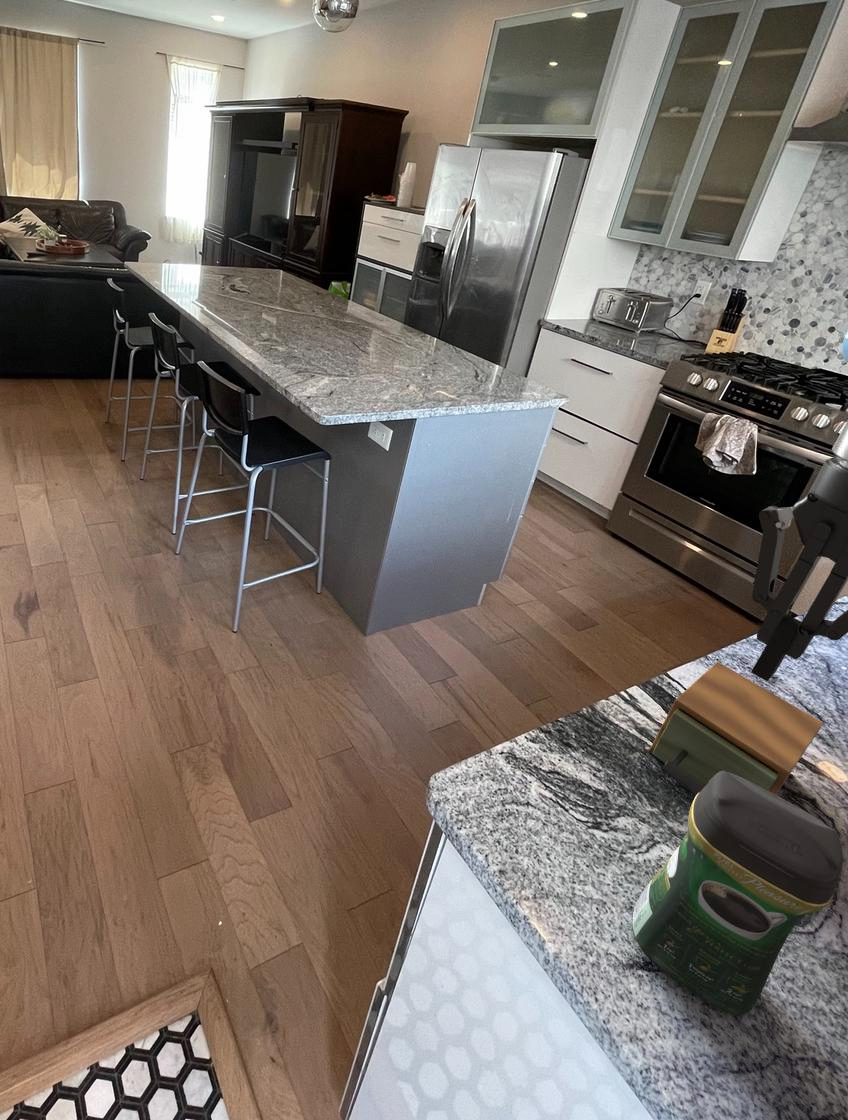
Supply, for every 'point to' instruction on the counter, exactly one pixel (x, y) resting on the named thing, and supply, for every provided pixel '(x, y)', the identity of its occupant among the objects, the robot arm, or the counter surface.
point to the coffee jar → (735, 891)
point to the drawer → (705, 756)
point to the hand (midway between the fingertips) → (763, 672)
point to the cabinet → (748, 719)
